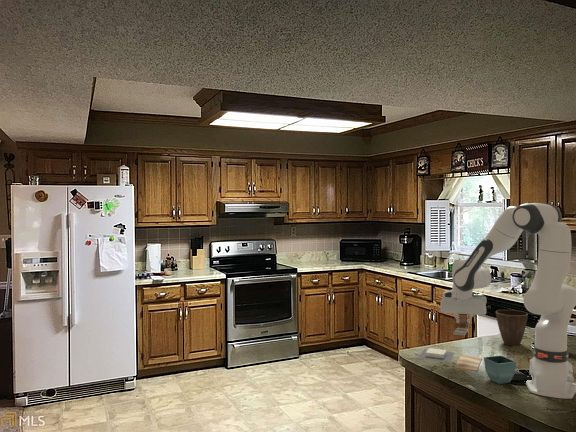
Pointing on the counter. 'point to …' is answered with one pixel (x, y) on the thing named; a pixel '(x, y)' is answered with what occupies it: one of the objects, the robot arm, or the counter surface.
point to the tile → (436, 353)
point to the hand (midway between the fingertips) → (463, 323)
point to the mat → (446, 359)
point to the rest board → (468, 363)
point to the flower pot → (499, 369)
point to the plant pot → (511, 325)
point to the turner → (462, 325)
